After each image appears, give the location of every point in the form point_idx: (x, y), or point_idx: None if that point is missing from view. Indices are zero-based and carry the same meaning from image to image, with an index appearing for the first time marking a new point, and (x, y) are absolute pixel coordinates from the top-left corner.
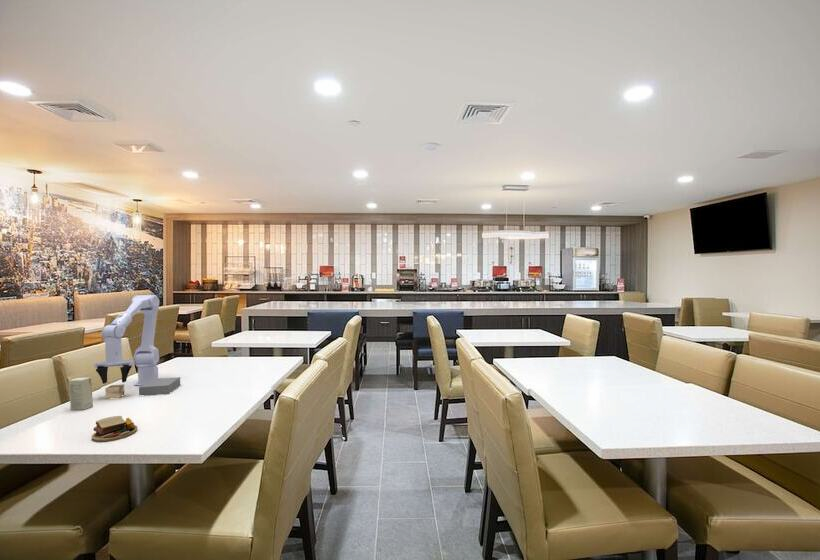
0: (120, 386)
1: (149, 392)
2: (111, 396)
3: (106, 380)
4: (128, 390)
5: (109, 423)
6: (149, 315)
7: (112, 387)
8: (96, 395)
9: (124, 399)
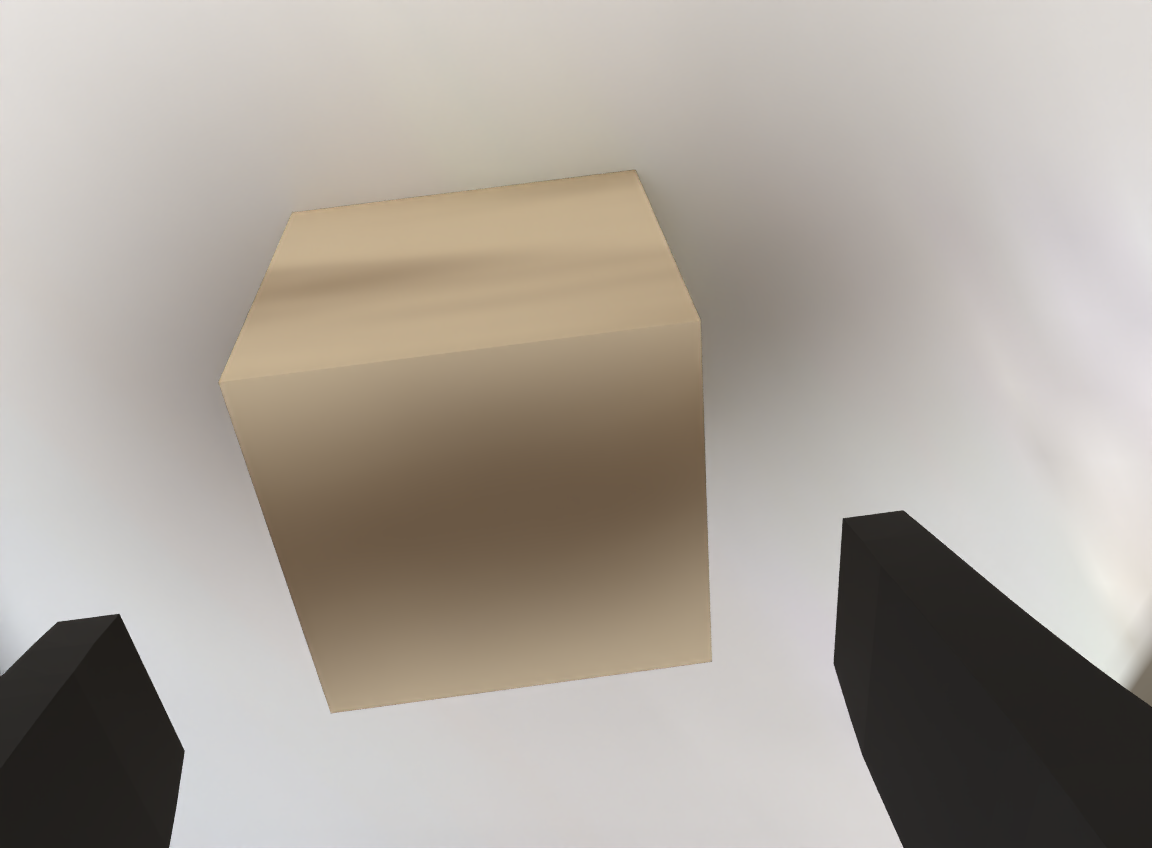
0: (266, 518)
1: None
2: (484, 220)
3: (867, 710)
4: (523, 758)
5: None
6: None
7: (473, 401)
8: (1055, 508)
9: (6, 95)
